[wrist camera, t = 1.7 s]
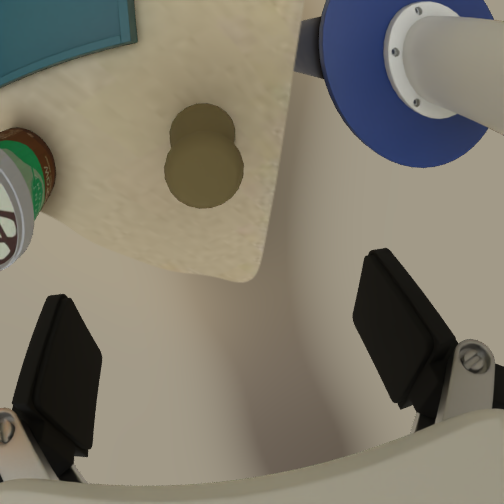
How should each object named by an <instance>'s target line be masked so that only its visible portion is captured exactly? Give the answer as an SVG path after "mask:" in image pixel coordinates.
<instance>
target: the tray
mask: <svg viewBox="0 0 504 504" xmlns="http://www.w3.org/2000/svg"><path fill="white" fill-rule="evenodd" d="M137 42H138V40H137V30H136V19H135V8H134V0H0V88H2V87H4V86H6V85H8V84H10V83H13V82H15V81H17V80H20V79H22V78H24V77H27V76H29V75H32V74H34V73H37V72H39V71H42V70H44V69H47V68H50V67H53V66H55V65H58V64H61V63H64V62H67V61H70V60H73V59H76V58H79V57H83V56H86V55H89V54H93V53H96V52H100V51H104V50H107V49H111V48H115V47H119V46H124V45H128V44H132V43H137Z"/></svg>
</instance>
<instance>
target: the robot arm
mask: <svg viewBox="0 0 504 504" xmlns="http://www.w3.org/2000/svg"><path fill="white" fill-rule="evenodd" d="M383 55H384V63H385V68H386V72H387V75H388V78H389V81H390V83H391V85H392V87H393V89H394V91H395V92H396V94H397V95H398V97H399V98H400V99H401V100H402V101H403V102H404V103H405V104H406V105H407V106H408V107H409V108H411V109H412V110H413V111H415V112H417V113H419V114H421V115H423V116H426V117H429V118H435V119H443V118H449V117H451V116H453V115H456V114H459V115H462V116H464V117H466V118H468V119H471V120H473V121H475V122H477V123H479V124H481V125H484V126H486V127H488V128H490V129H492V130H494V131H496V132H498V133H500V134H502V135H504V21H498V20H490V19H481V18H470V17H460V16H459V15H458V14H457V13H455V12H454V11H453V10H451V9H450V8H448V7H446V6H444V5H442V4H440V3H435V2H430V1H427V2H416V3H411V4H409V5H407V6H405V7H403V8H402V9H401V10H399V11H398V12H397V13H396V14H395V16H394V17H393V18H392V20H391V21H390V23H389V26H388V28H387V30H386V34H385V39H384V50H383ZM353 322H354V325H355V327H356V329H357V331H358V333H359V334H360V336H361V339H362V341H363V343H364V344H365V347H366V348H367V351H368V353H369V355H370V357H371V359H372V361H373V363H374V365H375V367H376V369H377V370H378V373H379V375H380V377H381V379H382V381H383V383H384V385H385V387H386V390H387V391H388V394H389V396H390V398H391V400H392V401H393V402H394V403H398V406H399V407H400V409H403V408H406V407H409V406H411V405H413V406H414V408H415V410H416V416H415V419H414V422H413V426H412V429H411V432H410V434H409V435H407V436H405V437H402V438H399V439H396V440H393V441H391V442H388V443H385V444H382V445H379V446H377V447H374V448H371V449H368V450H365V451H362V452H359V453H356V454H352V455H349V456H346V457H342V458H339V459H336V460H332V461H328V462H325V463H320V464H316V465H312V466H308V467H304V468H300V469H296V470H291V471H286V472H281V473H276V474H270V475H265V476H259V477H253V478H247V479H240V480H231V481H223V482H214V483H203V484H190V485H171V486H123V485H102V484H88V483H87V482H86V480H85V479H84V478H83V476H82V475H81V473H80V472H79V471H78V469H77V468H76V466H75V465H74V456H81V457H88V449H91V447H92V443H93V431H94V420H95V411H96V401H97V394H98V386H99V379H100V372H101V365H102V355H101V351H100V349H99V348H98V346H97V344H96V343H95V341H94V339H93V337H92V336H91V334H90V332H89V331H88V329H87V327H86V325H85V323H84V321H83V320H82V318H81V316H80V314H79V312H78V310H77V308H76V306H75V304H74V302H73V301H72V299H71V298H68V297H67V296H66V295H65V294H59V295H51V296H48V297H47V299H46V301H45V304H44V306H43V309H42V311H41V314H40V316H39V319H38V322H37V324H36V327H35V330H34V332H33V335H32V338H31V341H30V344H29V347H28V350H27V353H26V356H25V359H24V362H23V365H22V369H21V372H20V375H19V379H18V382H17V386H16V389H15V393H14V397H13V401H12V404H13V408H12V410H11V409H9V408H0V504H504V367H503V366H500V365H498V364H495V360H494V356H493V354H492V352H491V350H490V349H489V348H488V347H487V346H486V345H485V344H484V343H482V342H480V341H478V340H473V339H467V340H464V341H462V342H460V343H459V344H458V342H457V341H456V338H455V336H454V335H453V333H452V332H451V330H450V329H449V328H448V326H447V325H446V323H445V322H444V320H443V319H442V318H441V316H440V315H439V313H438V312H437V311H436V309H435V308H434V307H433V305H432V304H431V302H430V301H429V300H428V298H427V297H426V296H425V294H424V293H423V292H422V290H421V289H420V288H419V287H418V285H417V284H416V283H415V281H414V280H413V279H412V277H411V276H410V275H409V274H408V272H407V271H406V270H405V269H404V267H403V266H402V265H401V264H400V262H399V261H398V260H397V259H396V257H395V256H394V255H393V254H392V252H391V251H390V250H389V249H387V248H383V249H377V250H371V251H370V252H369V254H368V256H365V258H364V262H363V268H362V273H361V278H360V283H359V288H358V292H357V297H356V302H355V306H354V311H353Z"/></svg>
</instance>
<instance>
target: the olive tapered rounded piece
mask: <svg viewBox="0 0 504 504" xmlns="http://www.w3.org/2000/svg"><path fill="white" fill-rule="evenodd" d="M234 141H235V128H234V125H233V122H232V119H231V118H230V117H229V115H228V114H227V113H226V112H225V111H224V110H222V109H221V108H219V107H218V106H214V105H211V104H195V105H192V106H189V107H187V108H185V109H184V110H183V111H181V112H180V113H179V114H178V115H177V116H176V118H175V119H174V121H173V122H172V126H171V129H170V144H171V150H170V151H169V153H168V155H167V159H166V162H165V166H164V173H165V180H166V183H167V185H168V187H169V189H170V192H171V193H172V194H173V195H174V196H175V197H176V198H177V199H178V200H179V201H180V202H182V203H184V204H186V205H187V206H191V207H195V208H199V209H200V208H212V207H215V206H218V205H221V204H223V203H224V202H226V201H227V200H229V199H230V198H232V196H233V195H234V194H235V193H236V191H237V190H238V189H239V186H240V183H241V181H242V178H243V168H244V164H243V161H242V157H241V154H240V152H239V150H238V148H237V147H236V146H235V145H234Z"/></svg>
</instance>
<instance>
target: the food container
mask: <svg viewBox="0 0 504 504" xmlns="http://www.w3.org/2000/svg"><path fill="white" fill-rule="evenodd" d="M55 176H56V170H55V163H54V159H53V156H52V153H51V151H50V149H49V148H48V146H47V145H46V143H45V142H44V141H43V140H42V139H41V138H40V137H39V136H38V135H36V134H35V133H33V132H31V131H30V130H27V129H24V128H10V129H8V130H5V131H2V132H0V271H1V270H3V269H5V268H7V267H9V266H10V265H11V264H13V263H14V262H15V261H16V260H17V259H18V258H19V257H20V256H21V255H22V254H23V253H24V252H25V250H26V249H27V247H28V245H29V244H30V241H31V238H32V235H33V229H34V221H35V219H36V217H37V216H38V214H39V212H40V210H41V209H42V207H43V205H44V204H45V202H46V201H47V199H48V197H49V196H50V193H51V191H52V189H53V187H54V184H55Z"/></svg>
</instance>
